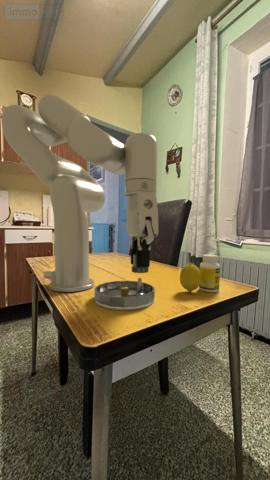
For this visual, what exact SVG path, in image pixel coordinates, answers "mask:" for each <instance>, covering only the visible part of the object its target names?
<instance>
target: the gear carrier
mask: <svg viewBox="0 0 270 480" xmlns="http://www.w3.org/2000/svg"><path fill="white" fill-rule="evenodd" d="M155 296H156V287H154V286H153V285H152V284H150V283H147V282H143V278H141V277H138V278H137V280H115V281H105V282H103V283H100V284H98V285H97V286H95V287H94V302H95V305H97V306H98V307H100V308H102V309H105V310H109V311H110V310H111V311H119V312H122V311H123V312H126V311H127V312H128V311H137V310H143V309H146V308H149V307H150V306H152V305H153V304H154V303H155Z"/></svg>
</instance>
